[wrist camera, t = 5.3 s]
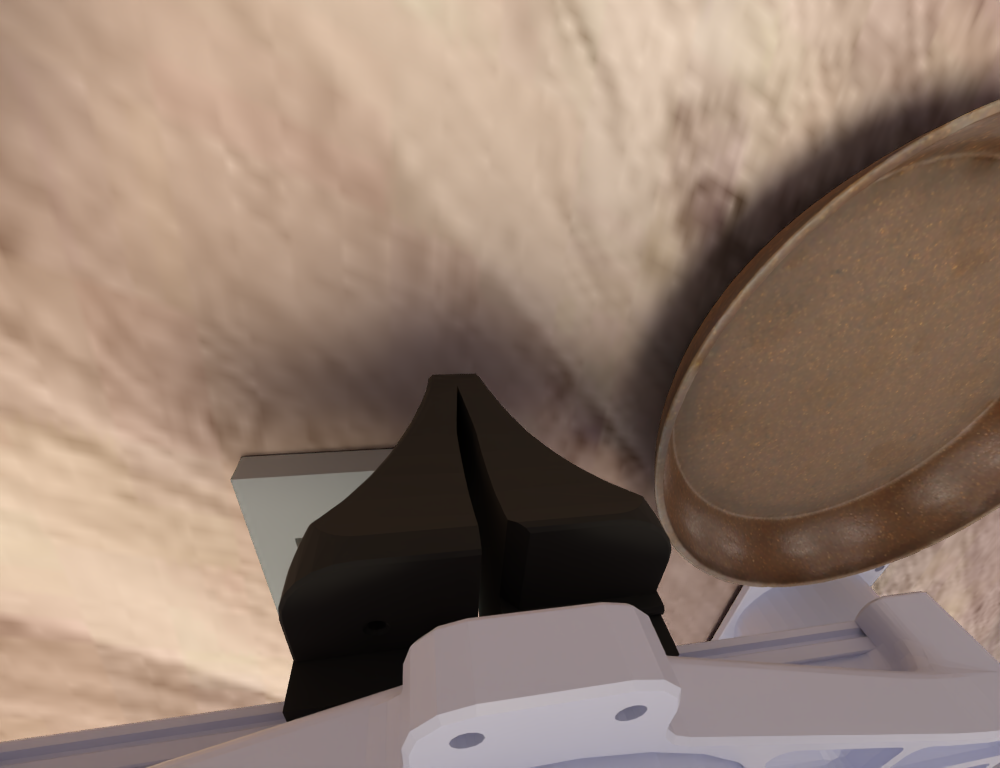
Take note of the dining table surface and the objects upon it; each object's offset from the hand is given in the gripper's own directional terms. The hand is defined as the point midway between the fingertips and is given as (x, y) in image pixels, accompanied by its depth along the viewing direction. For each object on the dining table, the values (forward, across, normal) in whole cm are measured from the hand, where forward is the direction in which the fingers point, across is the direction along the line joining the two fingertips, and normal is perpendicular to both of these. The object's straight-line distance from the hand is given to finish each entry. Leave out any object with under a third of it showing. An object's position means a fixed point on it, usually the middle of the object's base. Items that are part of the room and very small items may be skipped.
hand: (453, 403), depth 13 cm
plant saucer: (+2, -15, 0) cm, 15 cm away
